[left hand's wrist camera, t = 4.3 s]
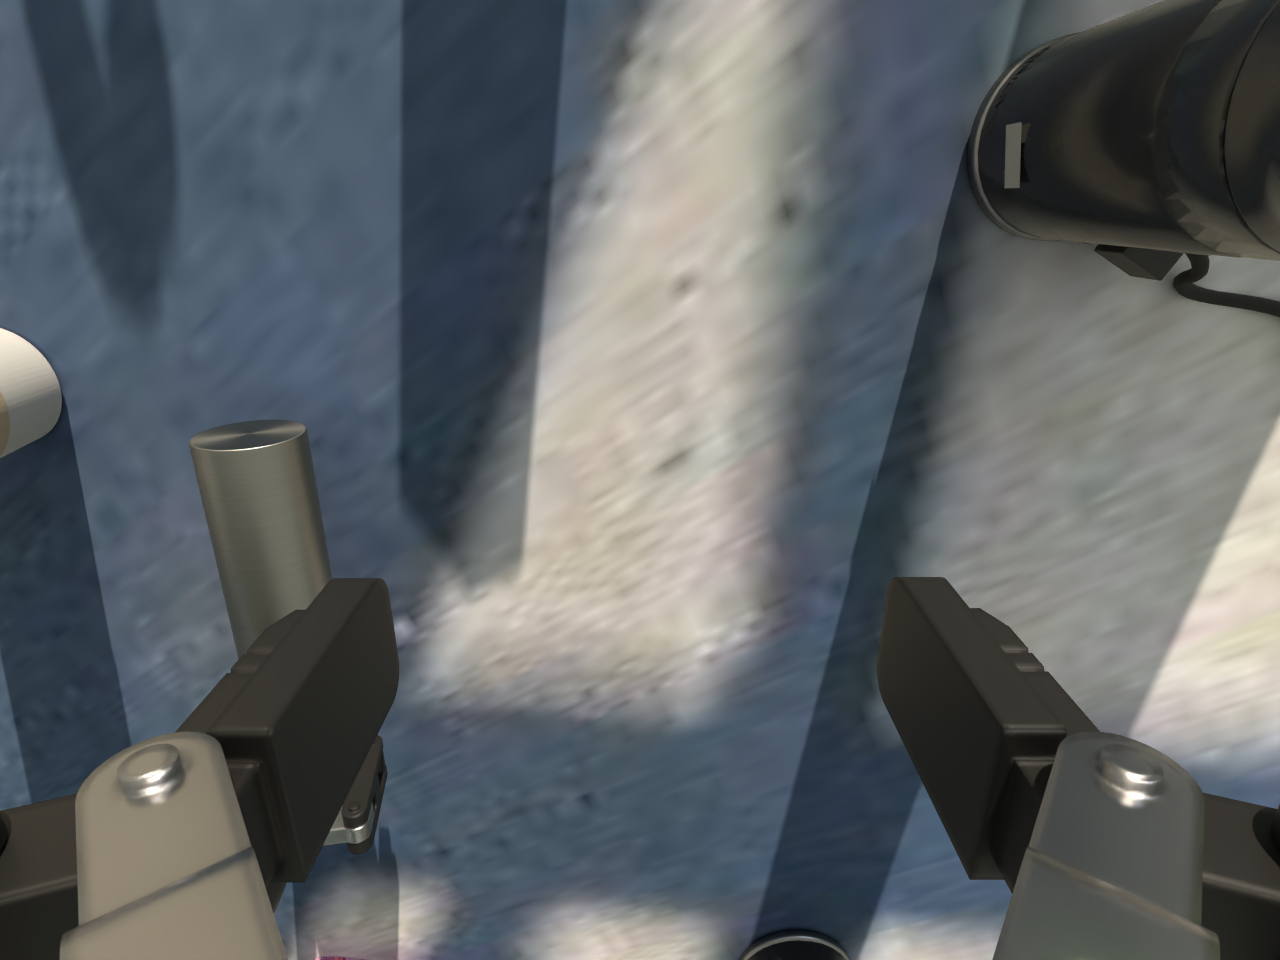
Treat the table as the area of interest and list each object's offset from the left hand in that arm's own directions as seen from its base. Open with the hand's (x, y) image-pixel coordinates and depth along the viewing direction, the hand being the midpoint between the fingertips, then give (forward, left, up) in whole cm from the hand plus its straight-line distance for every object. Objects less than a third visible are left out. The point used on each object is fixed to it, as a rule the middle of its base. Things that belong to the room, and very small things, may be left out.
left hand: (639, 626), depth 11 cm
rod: (+10, +24, -28) cm, 38 cm away
